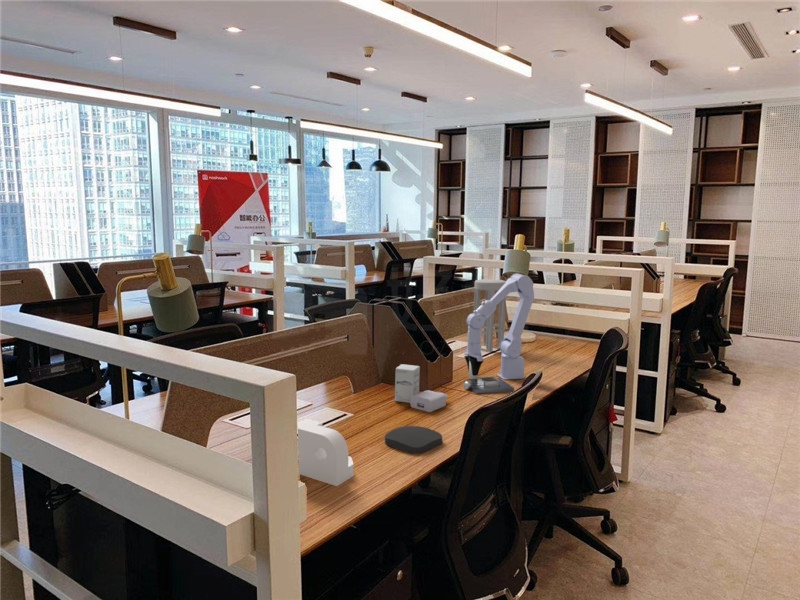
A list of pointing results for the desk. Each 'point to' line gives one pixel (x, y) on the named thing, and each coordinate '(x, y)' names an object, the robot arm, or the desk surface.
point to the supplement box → (406, 382)
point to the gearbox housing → (488, 385)
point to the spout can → (471, 372)
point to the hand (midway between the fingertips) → (473, 373)
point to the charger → (428, 400)
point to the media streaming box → (413, 439)
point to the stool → (490, 288)
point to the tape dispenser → (323, 453)
